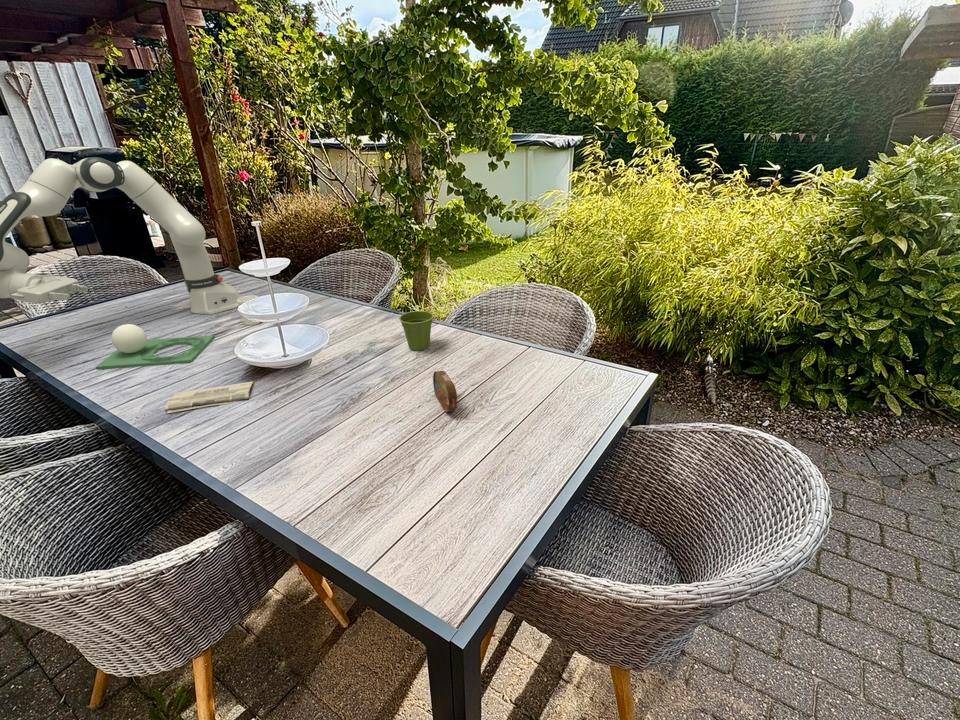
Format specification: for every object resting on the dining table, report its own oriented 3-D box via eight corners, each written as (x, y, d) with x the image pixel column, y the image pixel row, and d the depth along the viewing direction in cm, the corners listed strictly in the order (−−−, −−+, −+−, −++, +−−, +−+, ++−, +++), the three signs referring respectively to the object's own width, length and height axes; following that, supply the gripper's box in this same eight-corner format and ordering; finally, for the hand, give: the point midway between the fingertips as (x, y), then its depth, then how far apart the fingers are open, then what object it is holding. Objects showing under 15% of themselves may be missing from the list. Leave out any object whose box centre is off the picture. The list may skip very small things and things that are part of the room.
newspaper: (164, 417, 133) (161, 409, 132) (177, 399, 144) (175, 391, 143) (251, 403, 138) (249, 395, 137) (258, 386, 149) (256, 379, 148)
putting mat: (96, 369, 159) (95, 366, 159) (130, 343, 178) (129, 340, 177) (191, 362, 162) (190, 360, 161) (214, 337, 181) (214, 335, 180)
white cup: (267, 318, 197) (262, 295, 192) (257, 326, 190) (251, 302, 185) (249, 318, 198) (243, 295, 193) (238, 325, 191) (232, 301, 186)
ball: (150, 343, 175) (140, 317, 170) (151, 352, 167) (142, 326, 163) (117, 350, 170) (106, 324, 165) (117, 360, 162) (106, 333, 158)
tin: (433, 392, 140) (430, 366, 137) (443, 389, 141) (441, 364, 138) (448, 418, 128) (446, 391, 124) (459, 416, 129) (458, 388, 125)
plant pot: (438, 339, 173) (436, 310, 168) (432, 354, 163) (430, 323, 158) (406, 339, 175) (403, 310, 170) (398, 353, 164) (394, 322, 159)
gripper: (3, 285, 147) (56, 291, 149) (48, 271, 165) (94, 277, 168) (7, 305, 149) (58, 310, 152) (51, 289, 168) (96, 294, 170)
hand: (77, 293), depth 160 cm, fingers open, 8 cm apart
